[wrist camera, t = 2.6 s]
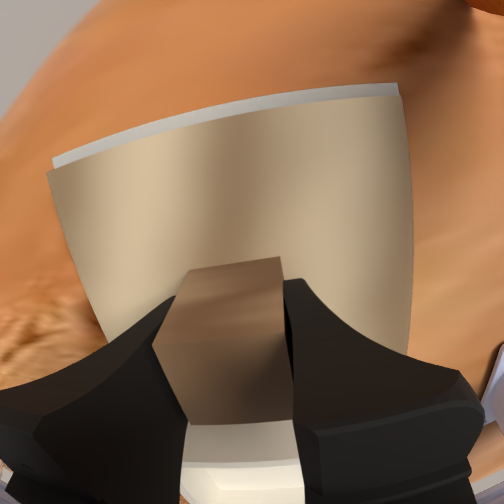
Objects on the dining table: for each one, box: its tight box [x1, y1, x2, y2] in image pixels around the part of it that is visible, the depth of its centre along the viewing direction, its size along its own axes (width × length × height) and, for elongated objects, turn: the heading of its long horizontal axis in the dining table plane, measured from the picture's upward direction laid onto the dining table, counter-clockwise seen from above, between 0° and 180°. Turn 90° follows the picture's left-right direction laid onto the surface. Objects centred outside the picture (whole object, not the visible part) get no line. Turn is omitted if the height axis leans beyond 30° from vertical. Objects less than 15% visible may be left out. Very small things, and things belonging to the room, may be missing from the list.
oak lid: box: [46, 95, 414, 425], centre depth 10 cm, size 12×12×5 cm
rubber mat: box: [52, 83, 399, 169], centre depth 12 cm, size 13×13×1 cm
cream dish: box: [180, 420, 305, 504], centre depth 16 cm, size 10×10×4 cm
